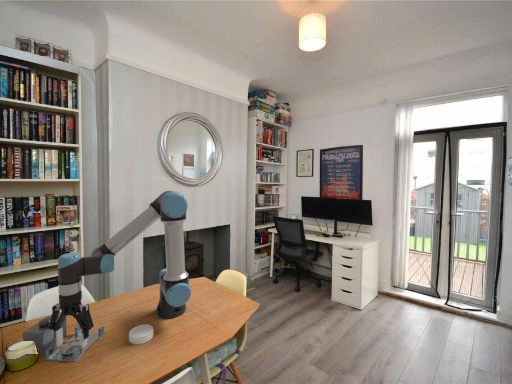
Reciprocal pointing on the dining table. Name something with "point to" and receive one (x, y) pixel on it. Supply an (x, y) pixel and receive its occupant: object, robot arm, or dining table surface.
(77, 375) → the dining table surface
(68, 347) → the stone
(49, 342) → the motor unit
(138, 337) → the coaster
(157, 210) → the robot arm
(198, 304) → the dining table surface
